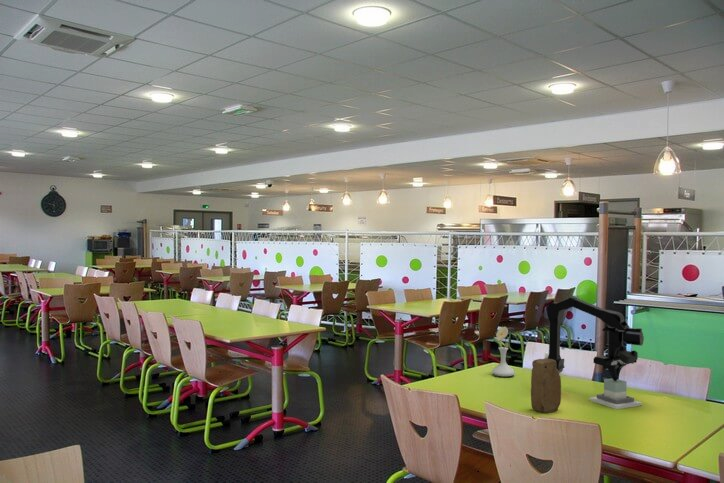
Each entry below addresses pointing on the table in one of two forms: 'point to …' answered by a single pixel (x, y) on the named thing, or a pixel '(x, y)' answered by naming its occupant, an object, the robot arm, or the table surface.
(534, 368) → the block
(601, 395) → the socket plate
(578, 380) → the table surface
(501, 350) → the flower in vase
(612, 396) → the grey green box
